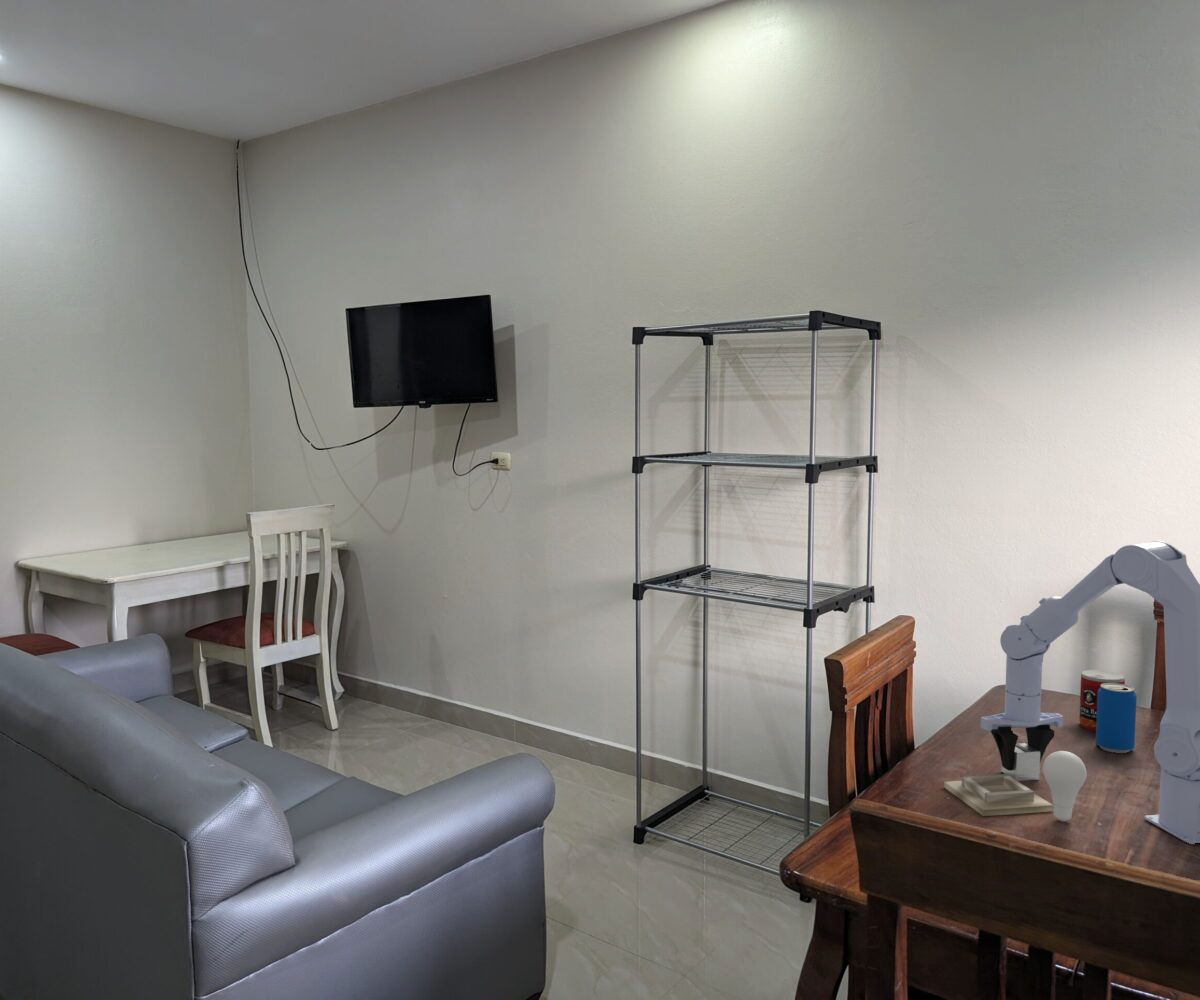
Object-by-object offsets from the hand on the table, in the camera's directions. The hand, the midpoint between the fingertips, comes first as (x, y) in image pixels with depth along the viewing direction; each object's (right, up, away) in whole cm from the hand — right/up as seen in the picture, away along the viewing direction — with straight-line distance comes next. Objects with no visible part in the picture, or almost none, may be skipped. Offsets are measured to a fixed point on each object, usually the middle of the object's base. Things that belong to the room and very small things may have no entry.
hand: (1020, 767), depth 166 cm
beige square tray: (-9, -2, -10) cm, 14 cm away
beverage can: (+24, -1, +14) cm, 28 cm away
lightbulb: (-2, -3, -19) cm, 19 cm away
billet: (0, -1, 0) cm, 1 cm away
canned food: (+28, 0, +27) cm, 39 cm away
